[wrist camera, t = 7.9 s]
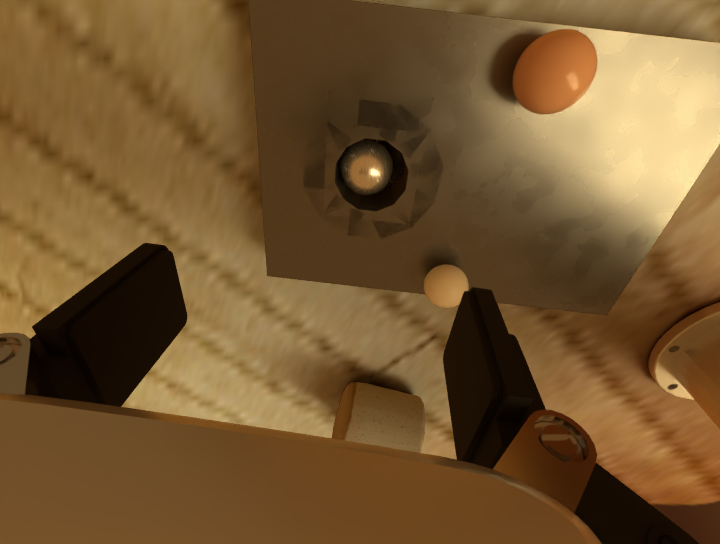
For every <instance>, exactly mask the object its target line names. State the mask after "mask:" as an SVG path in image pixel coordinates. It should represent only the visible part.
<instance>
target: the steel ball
mask: <svg viewBox="0 0 720 544" xmlns="http://www.w3.org/2000/svg"><path fill="white" fill-rule="evenodd" d="M340 171H341V176H342V179H343V181H344V182H345V184H346V185H347V186H348V187H349V188H350V189H351V190H352V191H354V192H356V193H358V194H362V195H370V194H374V193H377V192H379V191H381V190H382V189H383V188H384V187H385V186H386V185H387V184H388V182H389V181H390V179H391V176H392V172H393V162H392V158H391V156H390V154H389V152H388V150H387V149H386V148H385V147H384V146H383V145H382V144H380V143H378V142H376V141H373V140H361V141H358V142H356V143H354V144H352V145H351V146H349V147H348V148H347V150H346V151H345V152H344V154H343V156H342V159H341V163H340Z"/></svg>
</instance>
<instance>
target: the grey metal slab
mask: <svg viewBox="0 0 720 544" xmlns="http://www.w3.org/2000/svg"><path fill="white" fill-rule="evenodd" d="M249 15H250V29H251V44H252V59H253V74H254V89H255V103H256V118H257V133H258V148H259V163H260V177H261V192H262V207H263V222H264V237H265V251H266V266H267V276H272V277H281V278H289V279H298V280H307V281H315V282H324V283H332V284H341V285H350V286H358V287H367V288H375V289H384V290H393V291H401V292H410V293H418V294H425V291H424V281H425V278H426V276H427V274H428V273H429V272H430V271H431V270H432V269H433V268H435V267H436V266H439V265H444V264H448V265H453V266H456V267H458V268H459V269H460V270H462V271H463V273H464V274H465V275H466V277H467V279H468V284H469V288H468V291H470V289H471V288H472V287H476V288H483V289H490V290H492V292H493V294H494V297H495V300H496V302H497V303H504V304H513V305H522V306H530V307H539V308H547V309H556V310H565V311H573V312H582V313H591V314H599V315H607V314H608V313H609V311H610V310H611V308H612V307H613V305H614V304H615V302H616V301H617V299H618V298H619V296H620V295H621V293H622V292H623V290H624V288H625V287H626V285H627V284H628V282H629V281H630V279H631V278H632V276H633V275H634V273H635V272H636V270H637V269H638V267H639V266H640V264H641V263H642V261H643V260H644V258H645V256H646V255H647V253H648V252H649V250H650V249H651V247H652V246H653V244H654V243H655V241H656V240H657V238H658V237H659V235H660V234H661V232H662V231H663V229H664V228H665V226H666V224H667V223H668V221H669V220H670V218H671V217H672V215H673V214H674V212H675V211H676V209H677V208H678V206H679V205H680V203H681V202H682V200H683V199H684V197H685V196H686V194H687V193H688V191H689V189H690V188H691V186H692V185H693V183H694V182H695V180H696V179H697V177H698V176H699V174H700V173H701V171H702V170H703V168H704V167H705V165H706V164H707V162H708V161H709V159H710V157H711V156H712V154H713V153H714V151H715V150H716V148H717V147H718V145H719V144H720V43H715V42H706V41H698V40H689V39H680V38H671V37H663V36H654V35H645V34H637V33H628V32H619V31H611V30H602V29H593V28H585V27H576V26H567V25H559V24H550V23H541V22H533V21H524V20H515V19H507V18H498V17H489V16H481V15H472V14H463V13H455V12H446V11H437V10H429V9H420V8H411V7H403V6H394V5H385V4H377V3H368V2H359V1H351V0H249ZM558 29H572V30H577V31H579V32H581V33H583V34H585V35H586V36H587V37H588V38H589V39H590V40H591V41H592V42H593V44H594V46H595V48H596V52H597V57H598V64H597V71H596V75H595V78H594V80H593V82H592V84H591V86H590V88H589V89H588V90H587V92H586V93H585V94H584V95H583V97H582V98H581V99H580V100H579V101H577V102H576V103H575V104H574V105H572V106H571V107H569V108H567V109H565V110H563V111H561V112H558V113H554V114H546V115H543V114H536V113H533V112H530V111H528V110H526V109H525V108H524V107H523V106H521V104H520V103H519V102H518V100H517V99H516V97H515V94H514V91H513V73H514V69H515V67H516V64H517V62H518V60H519V58H520V56H521V55H522V53H523V52H524V50H525V49H526V48H527V47H528V46H529V45H530V44H531V43H532V42H533V41H535V40H536V39H537V38H539V37H540V36H542V35H544V34H546V33H548V32H551V31H554V30H558ZM365 138H368V139H376V140H385V141H387V142H388V143H390V144H391V145H392V146H393V147H395V148H396V149H397V150H398V151H400V152H401V153H402V155H403V158H404V160H405V166H404V172H403V174H402V175H401V177H400V178H399V179H398V180H397V182H396V183H395V184H394V185H393V186H392V187H390V188H387V189H385V190H382V191H380V192H377V193H374V194H370V195H362V194H358V193H356V192H354V191H352V190H351V189H350V188H349V187H348V186H347V185H346V184H345V182H344V181H343V179H342V176H341V171H340V163H341V158H342V153H343V152H344V150H345V149H346V147H347V146H350V145H352V144H354V143H356V142H358V141H360V140H363V139H365Z"/></svg>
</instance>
